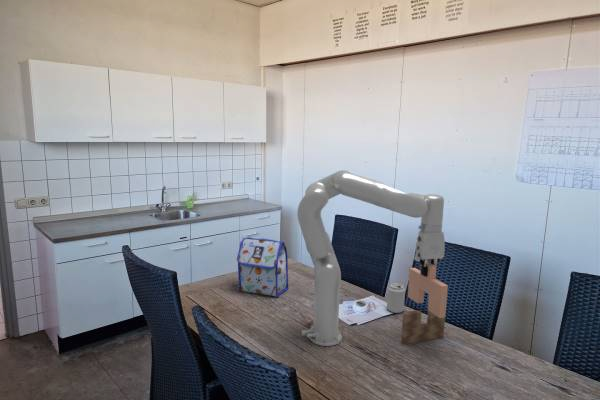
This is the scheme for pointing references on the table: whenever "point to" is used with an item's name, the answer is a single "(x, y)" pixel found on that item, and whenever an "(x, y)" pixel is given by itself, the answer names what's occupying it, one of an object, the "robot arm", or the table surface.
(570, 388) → the table surface
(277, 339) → the table surface
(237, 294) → the table surface
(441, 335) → the board
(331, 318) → the robot arm
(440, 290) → the pink notched panel
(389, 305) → the can
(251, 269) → the lunch bag
